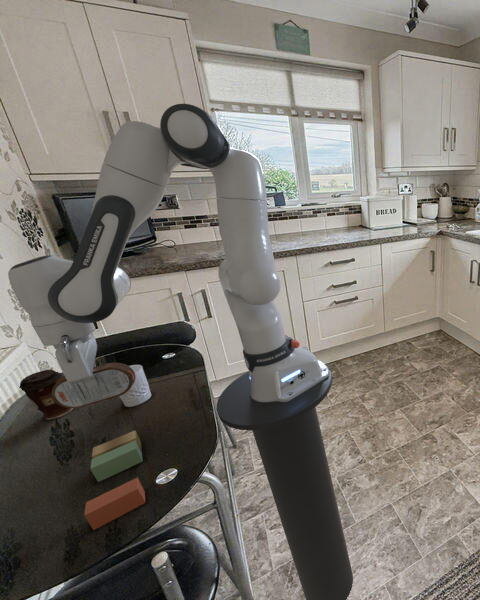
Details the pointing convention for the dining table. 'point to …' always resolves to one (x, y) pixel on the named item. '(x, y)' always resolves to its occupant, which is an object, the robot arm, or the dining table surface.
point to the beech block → (116, 444)
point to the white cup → (137, 389)
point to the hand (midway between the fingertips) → (94, 381)
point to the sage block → (116, 461)
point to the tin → (110, 385)
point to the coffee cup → (44, 393)
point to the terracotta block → (114, 503)
